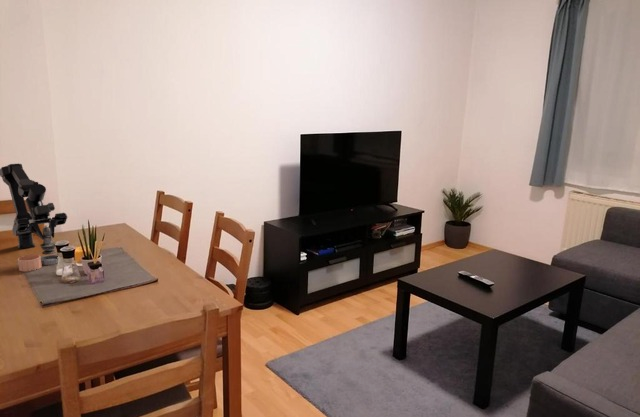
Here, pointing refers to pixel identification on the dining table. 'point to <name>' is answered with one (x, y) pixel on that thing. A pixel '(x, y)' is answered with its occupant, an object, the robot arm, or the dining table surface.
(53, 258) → the charcoal tray
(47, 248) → the grey chess piece
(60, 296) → the dining table surface
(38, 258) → the pink ribbed bowl
